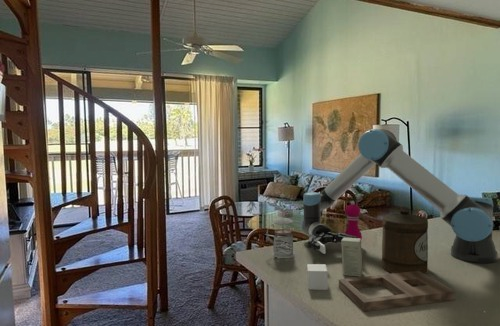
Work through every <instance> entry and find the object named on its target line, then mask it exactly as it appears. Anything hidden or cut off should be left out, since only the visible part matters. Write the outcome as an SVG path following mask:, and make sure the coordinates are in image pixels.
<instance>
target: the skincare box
mask: <svg viewBox="0 0 500 326" xmlns="http://www.w3.org/2000/svg"><path fill="white" fill-rule="evenodd" d="M340 244H341V245H340V246H341V262H342V263H341V266H342V275H343V276H351V277H362V275H363V258H362V256H363V255H362V254H363V253H362V239H361V238H345V237H343V239H342V240H341V243H340Z"/></svg>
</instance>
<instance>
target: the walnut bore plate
mask: <svg viewBox="0 0 500 326" xmlns="http://www.w3.org/2000/svg"><path fill="white" fill-rule="evenodd" d="M378 286H384V287H385V289H388V290H389V291H391V292H392V293H393V294H392V295H384V296H377V297H368V298H367V297H366V296H365V295H364V294H362V293H361V291H359V290H358V289H362V288H369V287H370V288H372V287H378ZM338 288H339V289H340V290H341V291H342V292H343V293H344V294H346V295H347V297H349V298H350V300H351V301H353V303H354V304H356V305H357V306H358V307H359V308H360V309H361V310H362V311H363V312H370V311H377V310H385V309H386V310H387V309H393V308H394V309H395V308H401V307H409V306H410V307H411V306H417V305H425V304H433V303H434V304H435V303H441V302H448V301H449V302H451V301H455V300H456V291H455V290H453V289H452V288H450V287H449V286H446V285H444V284H443V283H441V282H439V281H438V280H436V279H434V278H433V277H430V276H429V275H427V274H423V273H421V272H420V271H413V272H403V273H386V274H378V275H377V274H376V275H369V276H367V275H366V276H361V277H359V276H356V277H350V278H341V279H338Z"/></svg>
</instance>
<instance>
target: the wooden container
mask: <svg viewBox="0 0 500 326" xmlns="http://www.w3.org/2000/svg"><path fill="white" fill-rule="evenodd" d="M398 211H399V212H400V213H390V214H386V215H384V216H383V217H382V243H381V244H382V245H381V253H382V254H381V256H382V257H381V258H382V259H381V266H382V267H381V268H383V269H384V270H385V271H387V272H389V273H390V274H394V273H403V272H413V271H420V272H421V273H423V274H425V275H427V274H426V273H428V267H429V265H428V261H429V241H428V238H429V234H428V229H429V219H428V218H427V217H424V216H421V215H417V214H410V208H408V207H406V206H402V207H400V208H399V209H398Z"/></svg>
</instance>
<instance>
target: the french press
mask: <svg viewBox="0 0 500 326" xmlns="http://www.w3.org/2000/svg"><path fill="white" fill-rule="evenodd" d="M279 197H280V198H281V207H282V208H281V210H282V211H281V213H282V217H277V218H276V219H274V220H273V221H272V223H273V224H270V225H269V226H268V227H267V229H266V232H265V233H266V238H267V239H268V241H269V242H270V243H272V244H273V245H272V246H273V252H272V254H271V256H272V257H273V256H274V257H273V258H275V257H277V258H276V259H280V258H288V259H293V258H295V257H296V253H295V252H294V238H293V237H294V235H293V234H292V233H293V230H291V229H288V228H287V229H286V228H281V229H274V228H275V225H278V226H279V225H281V226H286V225H292V224H293V223H294V222H293V220H292V219H290V218H288V217H284V209H283V208H284V206H283V202H284V200H283V198H284V197H285V194H284V193H281V194H280V195H279ZM271 227H272V229H274V235H273V240H272V239H271V238H270V236H269V229H270V228H271Z"/></svg>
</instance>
